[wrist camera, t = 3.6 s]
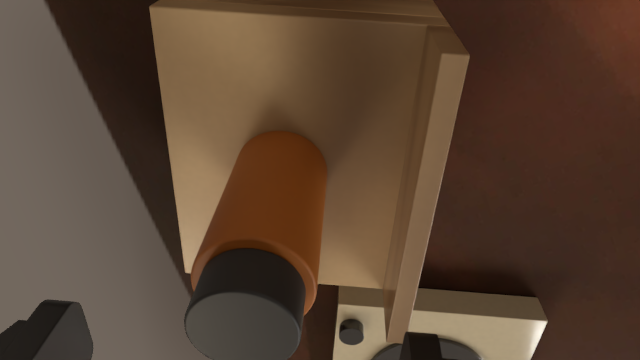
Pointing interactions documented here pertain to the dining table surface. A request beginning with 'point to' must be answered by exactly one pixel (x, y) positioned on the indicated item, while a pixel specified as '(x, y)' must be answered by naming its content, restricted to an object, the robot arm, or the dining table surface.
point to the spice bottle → (260, 253)
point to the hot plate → (440, 324)
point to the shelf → (318, 120)
